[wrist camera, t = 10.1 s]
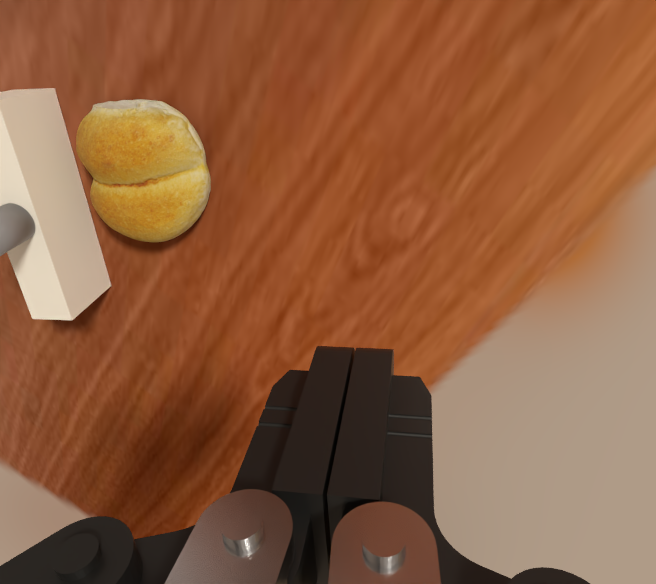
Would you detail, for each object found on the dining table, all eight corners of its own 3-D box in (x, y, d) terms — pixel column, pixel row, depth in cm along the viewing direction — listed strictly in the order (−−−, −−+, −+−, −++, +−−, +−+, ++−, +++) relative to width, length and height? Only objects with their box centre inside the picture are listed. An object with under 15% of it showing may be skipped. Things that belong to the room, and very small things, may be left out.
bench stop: (12, 89, 33) (-99, 111, 26) (54, 88, 32) (-47, 109, 25) (75, 284, 39) (1, 343, 32) (111, 285, 39) (43, 345, 32)
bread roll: (114, 231, 37) (82, 254, 33) (81, 98, 33) (40, 109, 29) (224, 234, 35) (202, 258, 32) (205, 97, 31) (177, 108, 28)
